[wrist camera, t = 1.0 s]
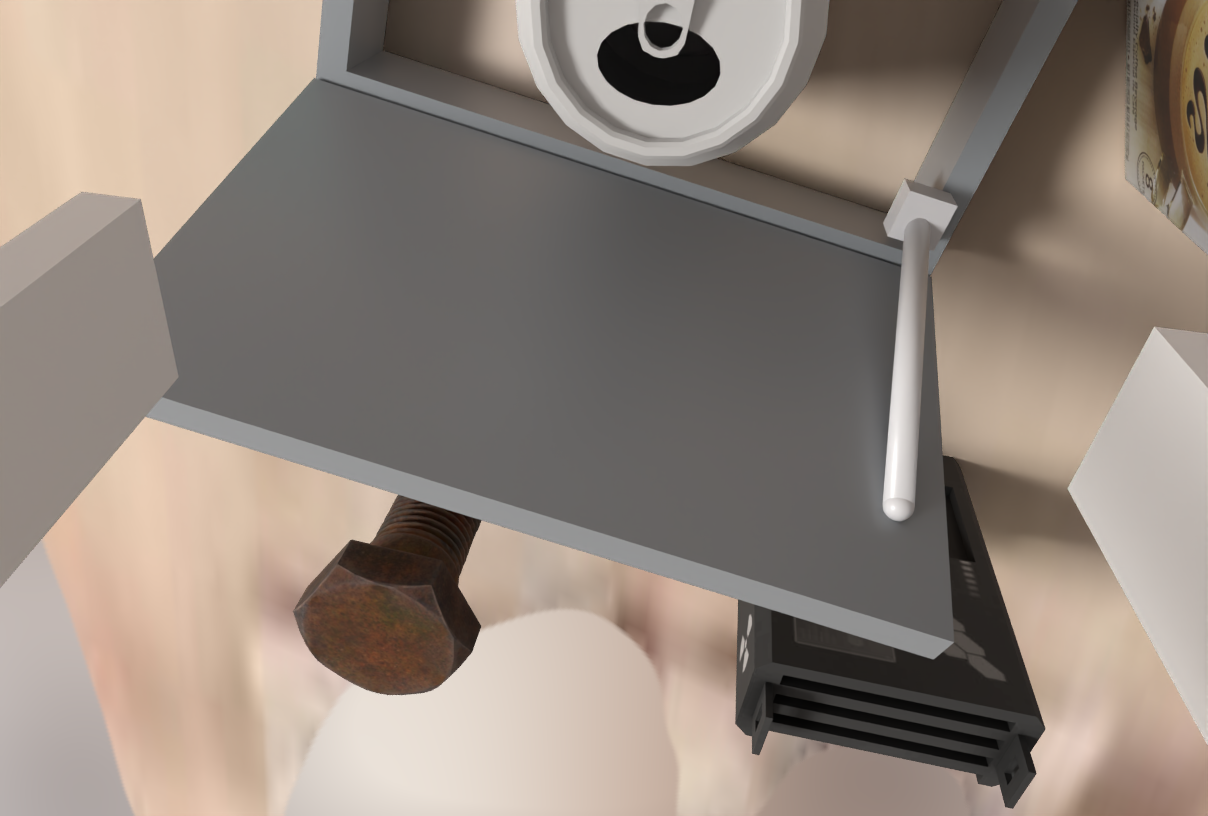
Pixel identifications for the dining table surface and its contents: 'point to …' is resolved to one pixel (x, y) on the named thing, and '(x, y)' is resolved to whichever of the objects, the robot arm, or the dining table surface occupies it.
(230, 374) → the case
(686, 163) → the can
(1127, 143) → the coffee box
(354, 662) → the bolt
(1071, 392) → the dining table surface
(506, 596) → the dining table surface
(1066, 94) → the dining table surface
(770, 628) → the geiger counter
